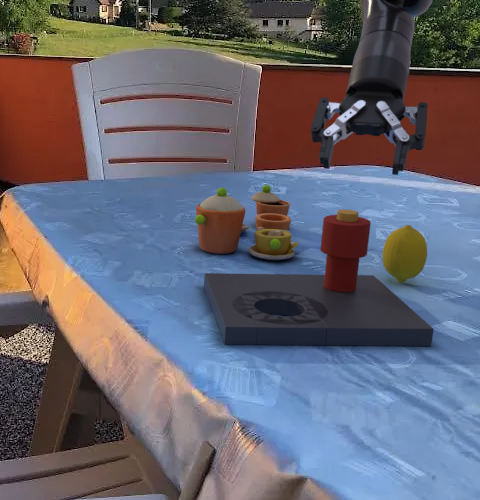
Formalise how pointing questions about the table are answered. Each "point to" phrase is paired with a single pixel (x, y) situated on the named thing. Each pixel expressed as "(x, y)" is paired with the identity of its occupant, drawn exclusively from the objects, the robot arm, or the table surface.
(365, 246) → the stopper
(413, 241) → the lemon
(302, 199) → the table surface
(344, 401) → the table surface
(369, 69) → the robot arm
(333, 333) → the grey board with hole
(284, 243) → the toy tea set
